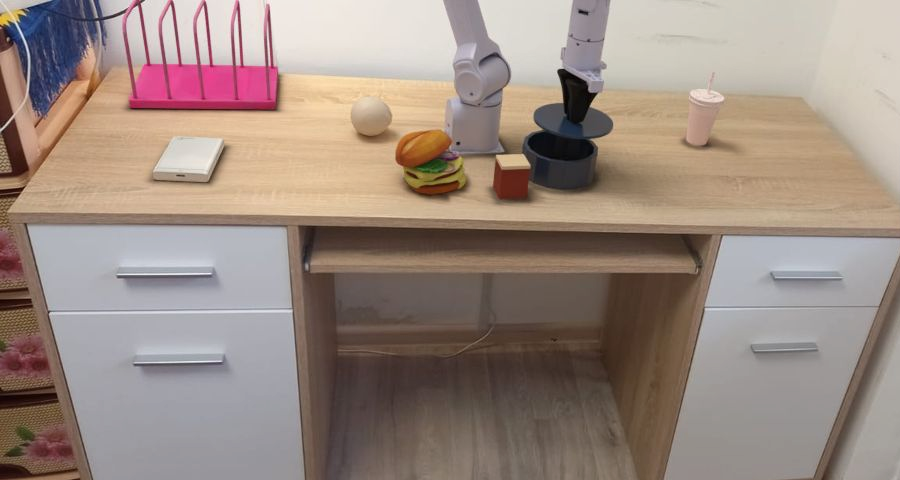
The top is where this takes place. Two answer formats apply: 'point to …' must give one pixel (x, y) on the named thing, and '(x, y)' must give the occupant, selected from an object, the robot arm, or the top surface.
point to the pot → (559, 171)
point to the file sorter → (202, 73)
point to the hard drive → (189, 159)
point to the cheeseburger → (430, 162)
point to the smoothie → (702, 113)
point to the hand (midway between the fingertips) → (573, 117)
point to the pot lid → (560, 124)
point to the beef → (511, 176)
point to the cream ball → (370, 116)
